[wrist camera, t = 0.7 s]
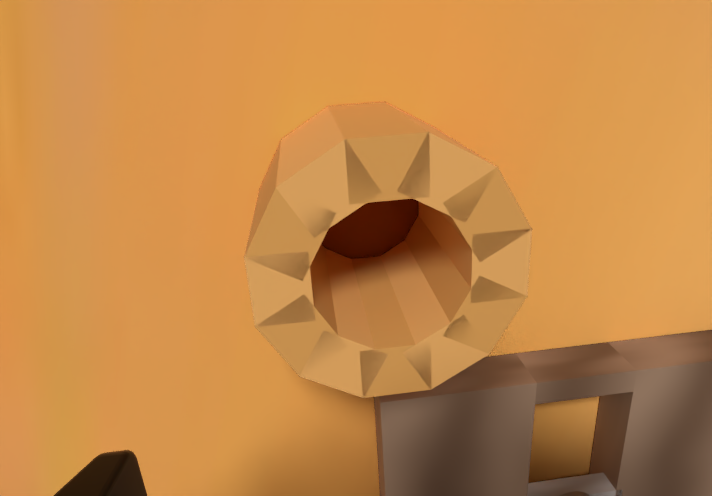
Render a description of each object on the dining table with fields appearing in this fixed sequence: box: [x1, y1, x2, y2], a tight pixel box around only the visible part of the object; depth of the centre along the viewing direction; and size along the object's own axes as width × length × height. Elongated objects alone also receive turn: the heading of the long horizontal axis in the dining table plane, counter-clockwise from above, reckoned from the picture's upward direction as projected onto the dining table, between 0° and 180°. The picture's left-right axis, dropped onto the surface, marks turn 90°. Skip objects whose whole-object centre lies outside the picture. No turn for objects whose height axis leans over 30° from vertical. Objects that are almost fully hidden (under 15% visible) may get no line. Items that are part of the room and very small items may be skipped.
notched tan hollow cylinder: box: [244, 102, 532, 398], centre depth 16 cm, size 7×7×6 cm
